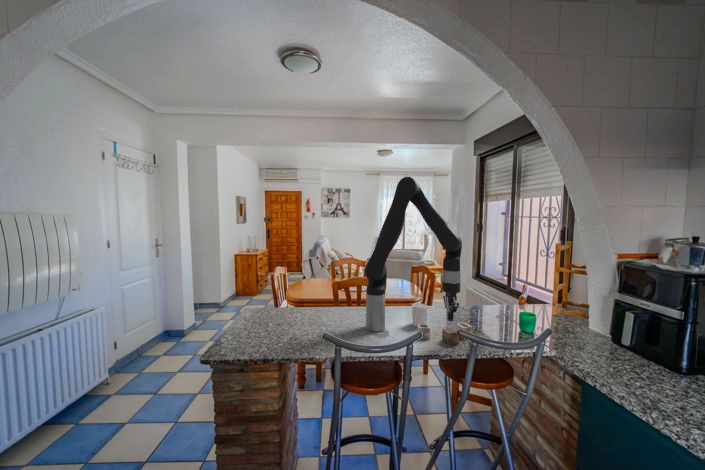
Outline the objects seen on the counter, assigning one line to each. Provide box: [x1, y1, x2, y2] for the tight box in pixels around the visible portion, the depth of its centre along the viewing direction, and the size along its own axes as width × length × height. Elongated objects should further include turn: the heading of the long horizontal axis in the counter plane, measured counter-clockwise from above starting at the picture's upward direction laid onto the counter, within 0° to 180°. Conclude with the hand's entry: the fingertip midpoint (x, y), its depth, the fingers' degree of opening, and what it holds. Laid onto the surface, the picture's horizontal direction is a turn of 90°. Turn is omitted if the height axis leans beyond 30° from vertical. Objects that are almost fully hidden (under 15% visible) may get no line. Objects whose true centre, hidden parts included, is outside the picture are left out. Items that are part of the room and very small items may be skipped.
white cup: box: [411, 302, 429, 327], centre depth 142 cm, size 8×8×10 cm
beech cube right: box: [455, 322, 474, 334], centre depth 128 cm, size 5×5×5 cm
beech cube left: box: [416, 323, 431, 340], centre depth 127 cm, size 5×5×5 cm
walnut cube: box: [441, 327, 460, 345], centre depth 121 cm, size 5×5×5 cm
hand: (450, 320), depth 121 cm, fingers closed
